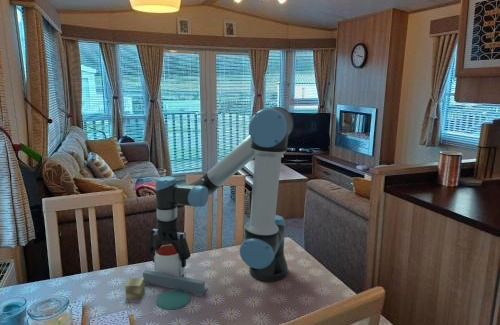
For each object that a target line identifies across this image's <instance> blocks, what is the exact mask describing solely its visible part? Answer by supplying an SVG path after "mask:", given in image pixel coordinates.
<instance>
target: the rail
mask: <svg viewBox="0 0 500 325" xmlns="http://www.w3.org/2000/svg"><path fill="white" fill-rule="evenodd" d="M142 278H144V286H145V287H146V286H148V285H153V286H158V287H165V288H170V289H172V290H183V291H186V292H187V293H189V292H190V293H194V296H196V297H201V298H202V296H203V295H204V294H205V292H206V291H207V290H208V287H206V281H205V280H201V279H196V278H191V277H186V276H175V275H170V274H164V273H159V272H155V270H154V271H152V270H148V269H145V270H144V271H143V272H142Z"/></svg>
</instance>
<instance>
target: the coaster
mask: <svg viewBox="0 0 500 325" xmlns="http://www.w3.org/2000/svg"><path fill="white" fill-rule="evenodd" d="M190 299H191V296H190V294H189V292H188V291H183V290H178V289H170V290H167V291H165V292H164V291H163V292H162V293H161V294H159V295H158V297H157V299H156V304H157V306H158V307H159V308H161V309H163V310H168V311H169V310H177V309H180V308H181V309H182V307H185V306H186V305H188V304H189V302H190Z"/></svg>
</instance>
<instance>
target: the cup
mask: <svg viewBox="0 0 500 325" xmlns="http://www.w3.org/2000/svg"><path fill="white" fill-rule="evenodd" d="M155 258H156V272H159V273H164V274H170V275H175V276H179V260H180V257H179V255H178V253H177V252H176V250H175V248H174V246H173V245H172V244H165V245H161V247H160V248H159V249H158V250H156V251H155Z"/></svg>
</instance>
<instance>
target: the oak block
mask: <svg viewBox="0 0 500 325" xmlns="http://www.w3.org/2000/svg"><path fill="white" fill-rule="evenodd" d="M124 287H125V299H126V300H142V298H143V296H144V294H145V291H146V288H145V287H146V286H145V285H144V278H143V277H130V278H129V279H128V280H127V281H126V284H125V286H124Z"/></svg>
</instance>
